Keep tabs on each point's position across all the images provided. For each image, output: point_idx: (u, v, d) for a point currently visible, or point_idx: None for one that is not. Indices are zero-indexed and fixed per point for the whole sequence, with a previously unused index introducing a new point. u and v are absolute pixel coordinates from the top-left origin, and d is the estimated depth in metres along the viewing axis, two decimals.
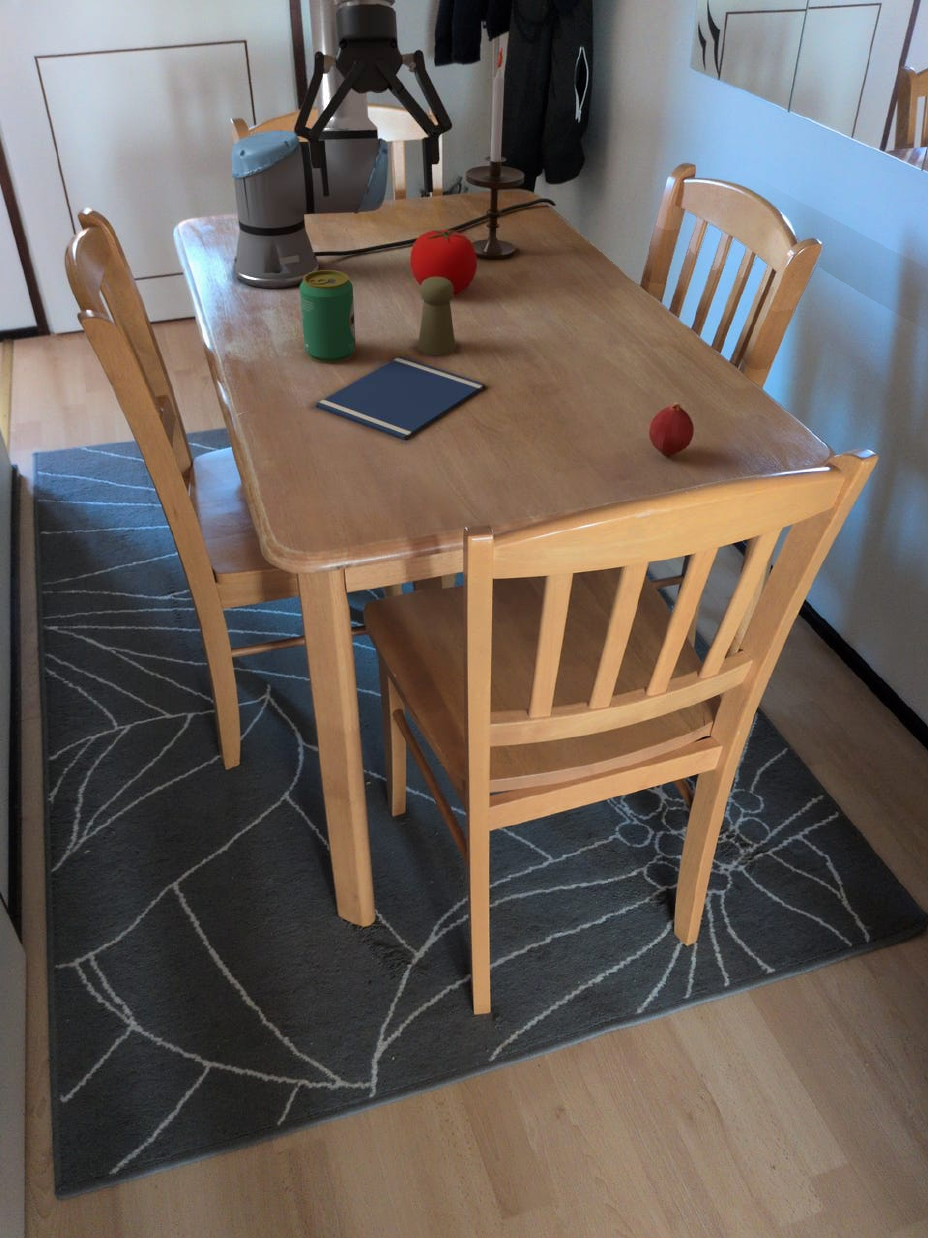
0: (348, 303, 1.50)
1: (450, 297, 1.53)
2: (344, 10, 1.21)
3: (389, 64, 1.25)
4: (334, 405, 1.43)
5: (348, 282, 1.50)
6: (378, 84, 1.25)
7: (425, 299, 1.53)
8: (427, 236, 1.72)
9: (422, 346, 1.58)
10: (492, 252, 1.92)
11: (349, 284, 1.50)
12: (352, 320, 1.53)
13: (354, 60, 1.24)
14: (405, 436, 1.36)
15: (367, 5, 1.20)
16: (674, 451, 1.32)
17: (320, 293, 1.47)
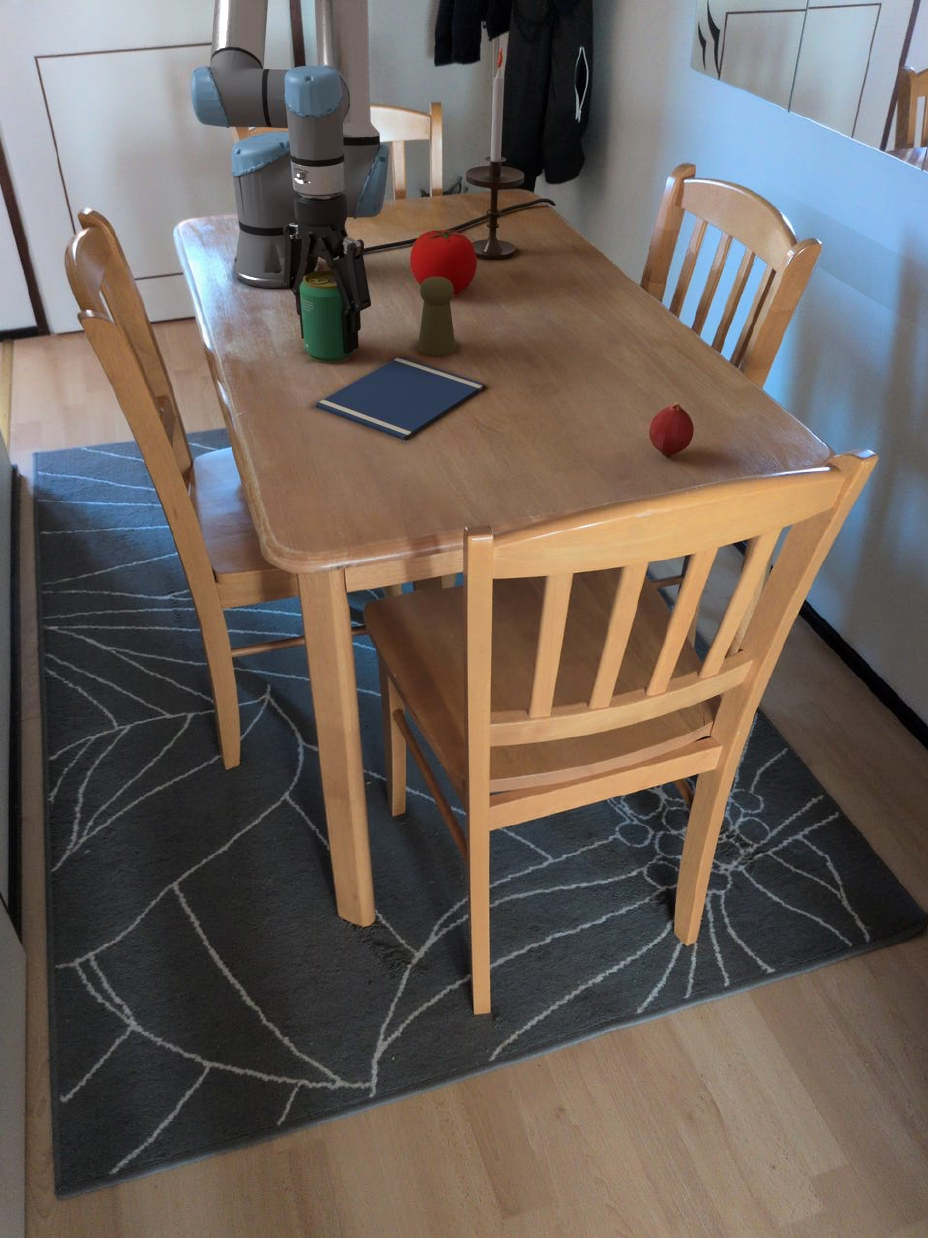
0: None
1: (450, 297, 1.53)
2: (294, 196, 1.42)
3: (330, 242, 1.44)
4: (334, 405, 1.43)
5: None
6: (323, 255, 1.46)
7: (425, 299, 1.53)
8: (427, 236, 1.72)
9: (422, 346, 1.58)
10: (492, 252, 1.92)
11: None
12: None
13: (307, 232, 1.45)
14: (405, 436, 1.36)
15: (303, 200, 1.40)
16: (674, 451, 1.32)
17: (320, 293, 1.47)
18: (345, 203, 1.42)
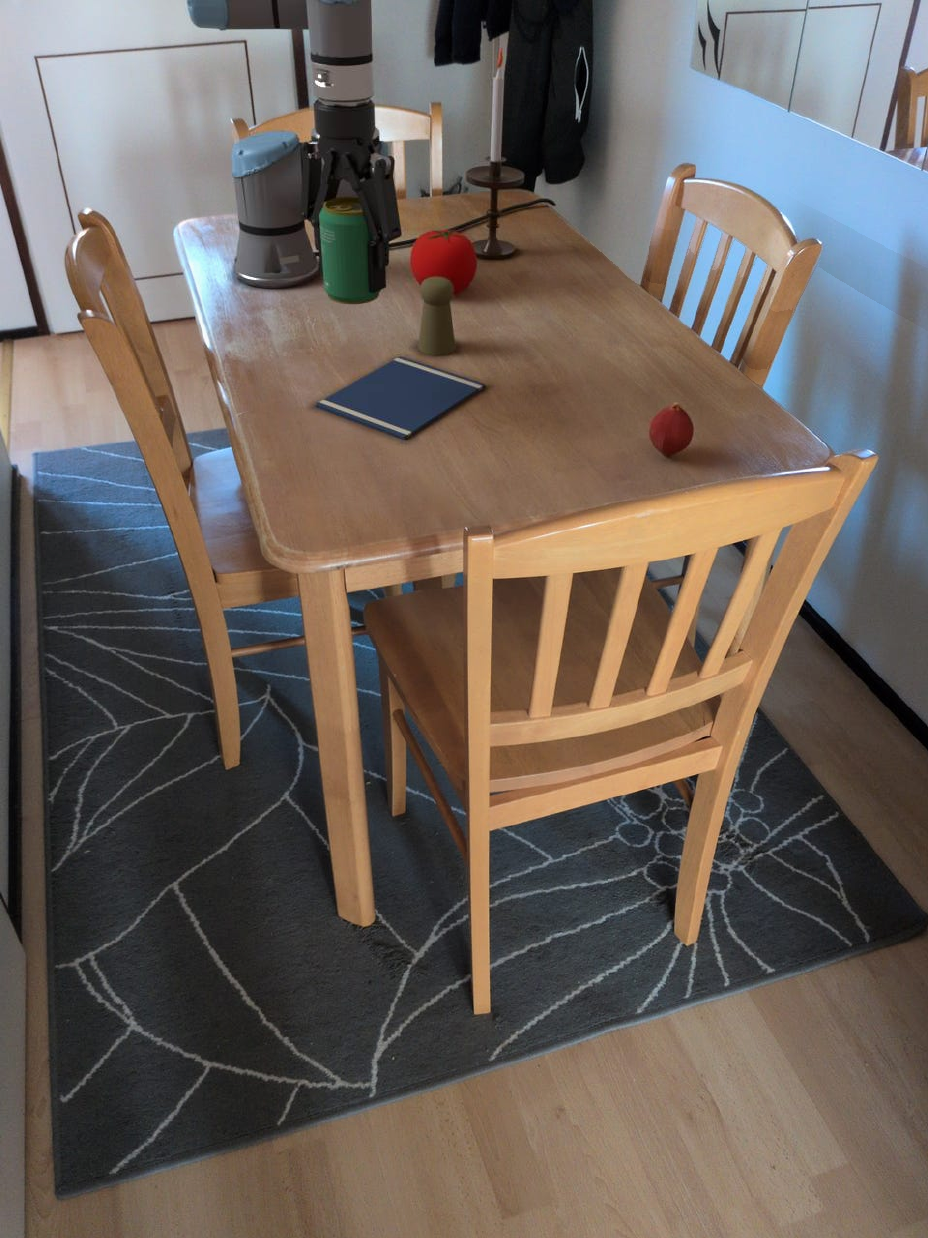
0: None
1: (450, 297, 1.53)
2: (314, 105, 1.22)
3: (355, 159, 1.24)
4: (334, 405, 1.43)
5: None
6: (347, 176, 1.26)
7: (425, 299, 1.53)
8: (427, 236, 1.72)
9: (422, 346, 1.58)
10: (492, 252, 1.92)
11: None
12: None
13: (329, 149, 1.26)
14: (405, 436, 1.36)
15: (325, 107, 1.20)
16: (674, 451, 1.32)
17: (342, 220, 1.28)
18: (373, 113, 1.22)
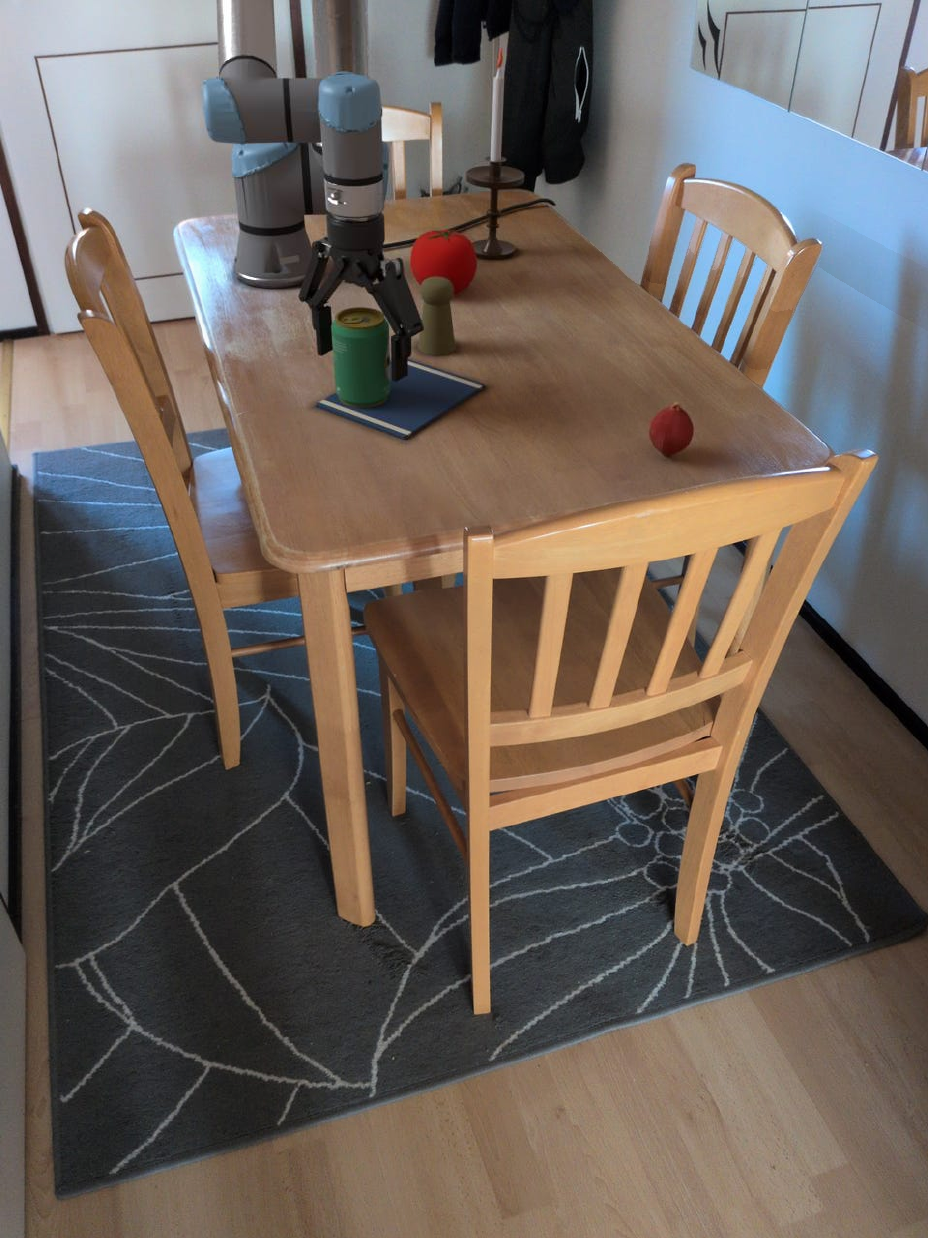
0: (384, 343, 1.38)
1: (450, 297, 1.53)
2: None
3: (366, 268, 1.31)
4: (334, 405, 1.43)
5: (384, 321, 1.37)
6: (358, 281, 1.33)
7: (425, 299, 1.53)
8: (427, 236, 1.72)
9: (422, 346, 1.58)
10: (492, 252, 1.92)
11: (385, 323, 1.37)
12: (388, 362, 1.40)
13: (340, 256, 1.32)
14: (405, 436, 1.36)
15: (337, 222, 1.27)
16: (674, 451, 1.32)
17: (354, 334, 1.35)
18: (383, 225, 1.29)
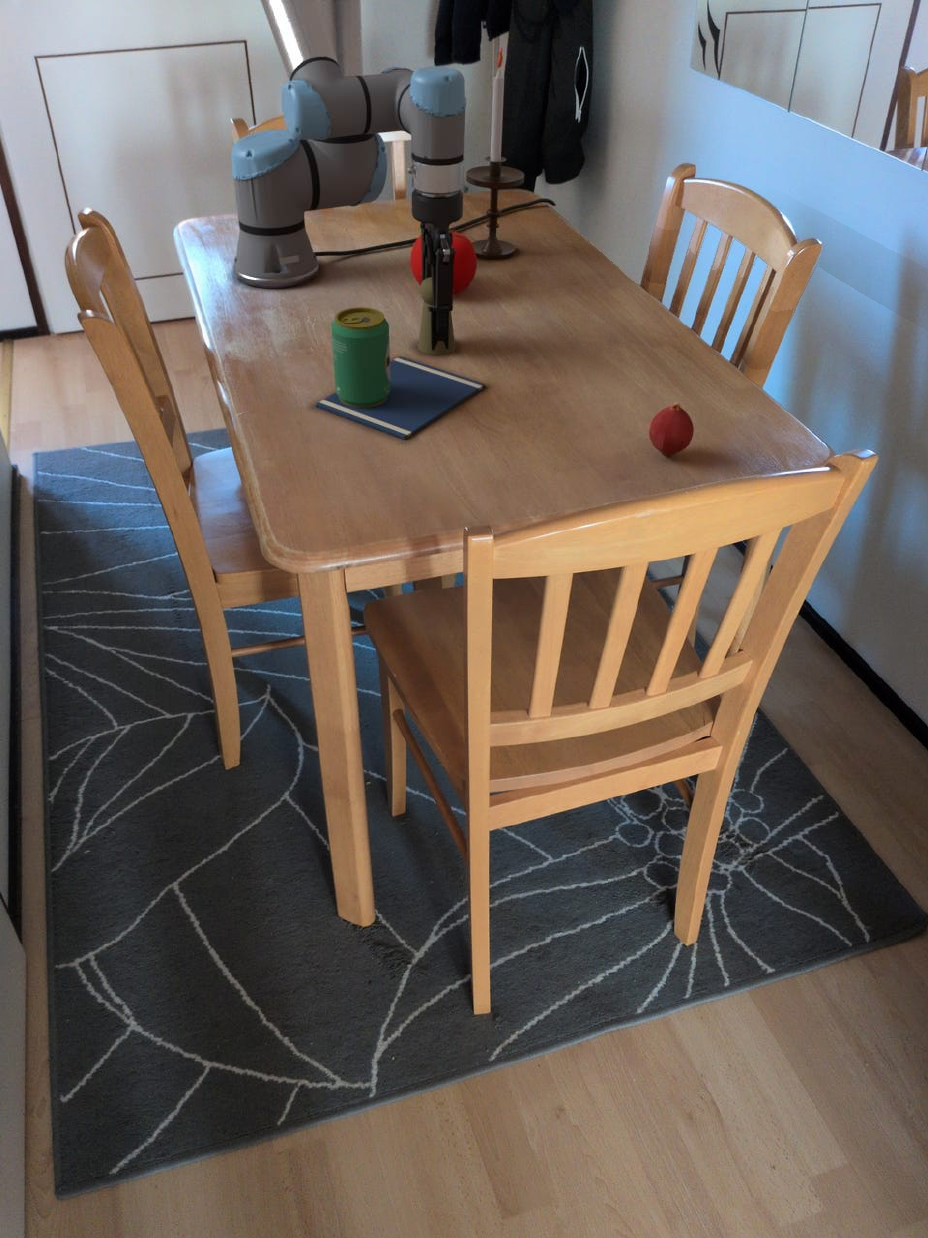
0: (384, 343, 1.38)
1: None
2: None
3: (433, 240, 1.46)
4: (334, 405, 1.43)
5: (384, 321, 1.37)
6: None
7: (425, 299, 1.53)
8: None
9: (422, 346, 1.58)
10: (492, 252, 1.92)
11: (385, 323, 1.37)
12: (388, 362, 1.40)
13: (427, 227, 1.49)
14: (405, 436, 1.36)
15: (414, 193, 1.44)
16: (674, 451, 1.32)
17: (354, 334, 1.35)
18: (452, 206, 1.43)
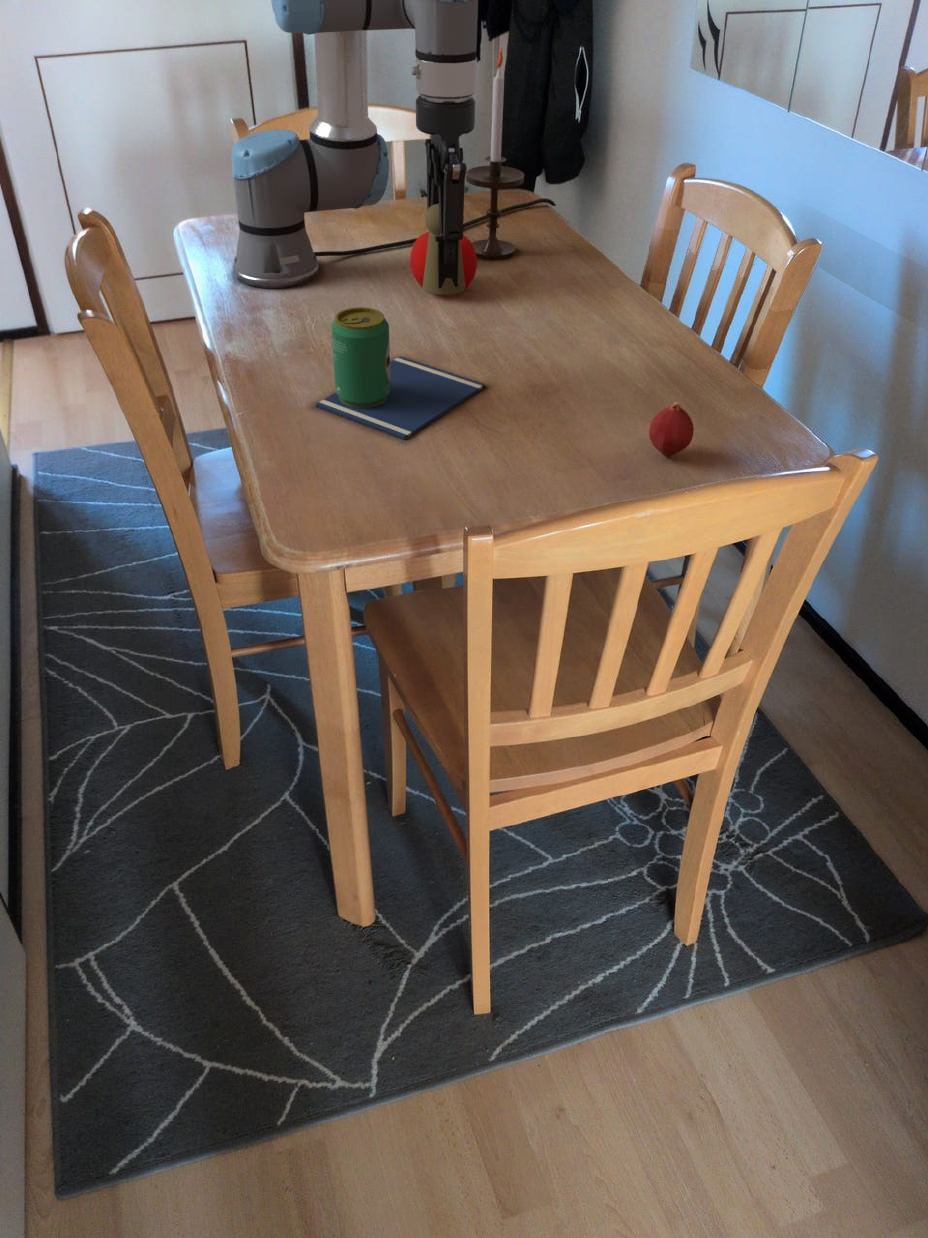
0: (384, 343, 1.38)
1: None
2: None
3: (440, 155, 1.27)
4: (334, 405, 1.43)
5: (384, 321, 1.37)
6: None
7: (431, 228, 1.33)
8: (427, 236, 1.72)
9: (427, 284, 1.38)
10: (492, 252, 1.92)
11: (385, 323, 1.37)
12: (388, 362, 1.40)
13: (433, 142, 1.30)
14: (405, 436, 1.36)
15: (418, 99, 1.24)
16: (674, 451, 1.32)
17: (354, 334, 1.35)
18: (462, 113, 1.23)
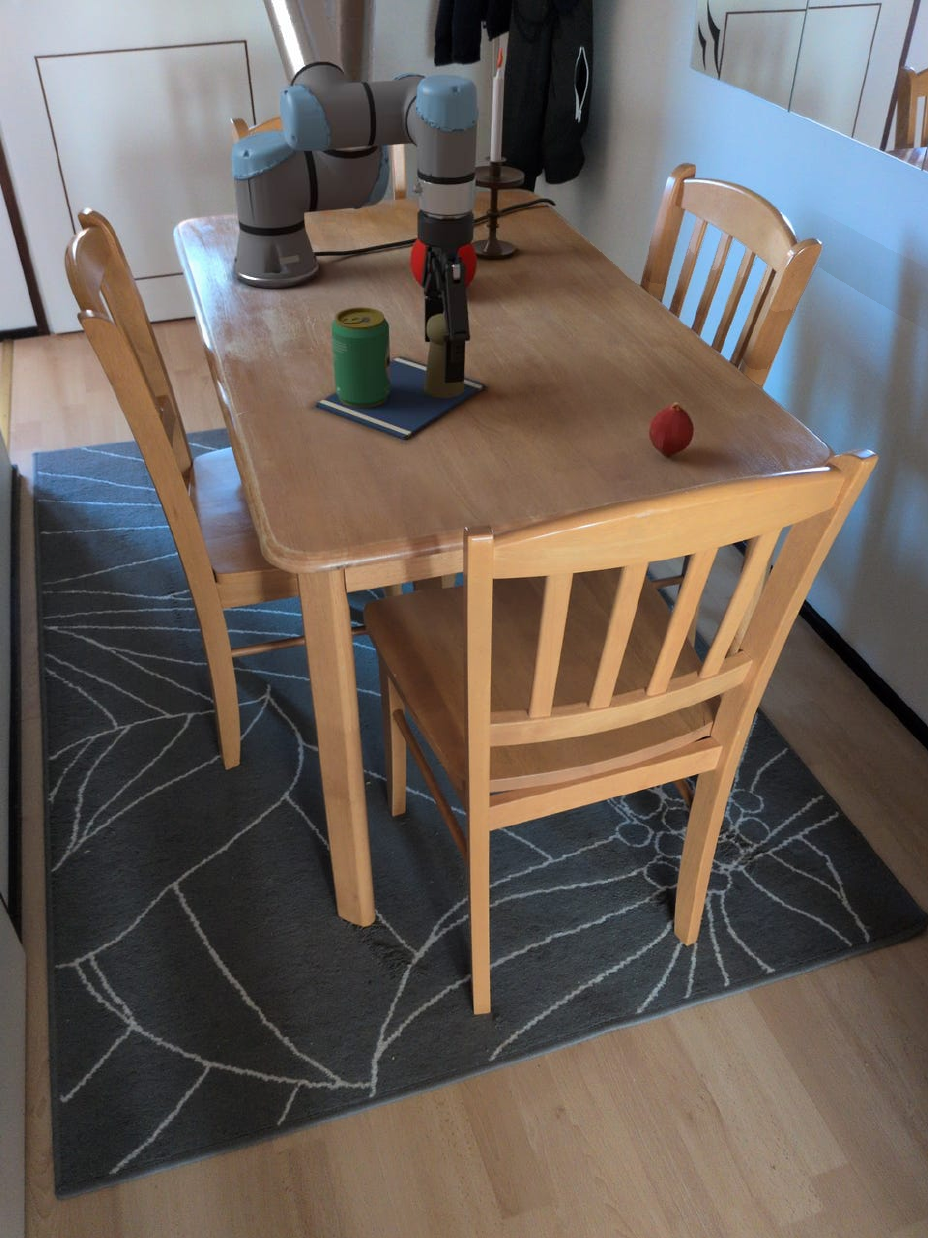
0: (384, 343, 1.38)
1: None
2: None
3: (440, 265, 1.33)
4: (334, 405, 1.43)
5: (384, 321, 1.37)
6: None
7: (432, 338, 1.41)
8: None
9: (428, 388, 1.45)
10: (492, 252, 1.92)
11: (385, 323, 1.37)
12: (388, 362, 1.40)
13: (434, 250, 1.36)
14: (405, 436, 1.36)
15: (420, 214, 1.31)
16: (674, 451, 1.32)
17: (354, 334, 1.35)
18: (462, 228, 1.30)
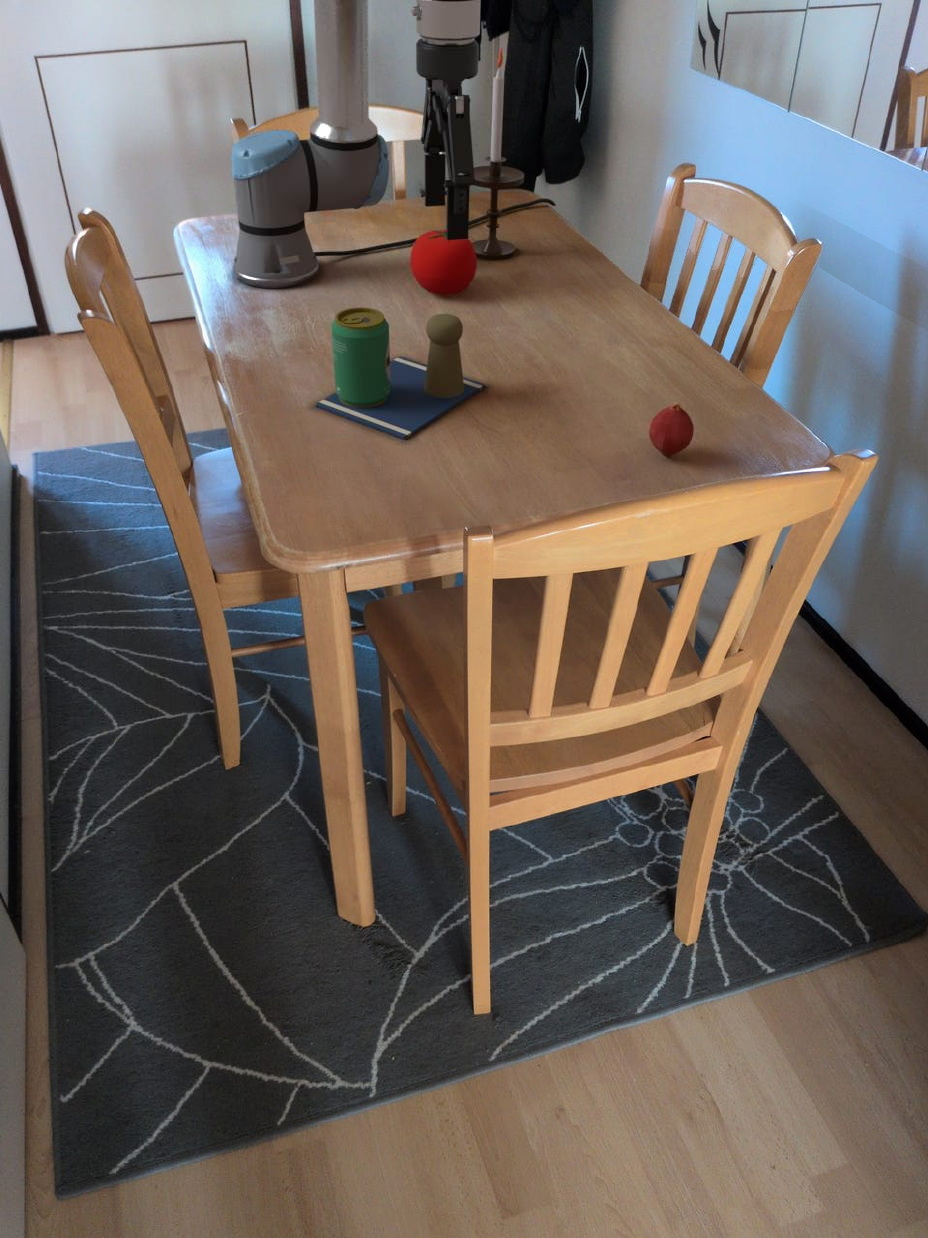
0: (384, 343, 1.38)
1: (459, 336, 1.41)
2: None
3: (442, 102, 1.20)
4: (334, 405, 1.43)
5: (384, 321, 1.37)
6: None
7: (432, 338, 1.41)
8: (427, 236, 1.72)
9: (428, 388, 1.45)
10: (492, 252, 1.92)
11: (385, 323, 1.37)
12: (388, 362, 1.40)
13: (434, 89, 1.23)
14: (405, 436, 1.36)
15: (419, 42, 1.18)
16: (674, 451, 1.32)
17: (354, 334, 1.35)
18: (465, 56, 1.17)
